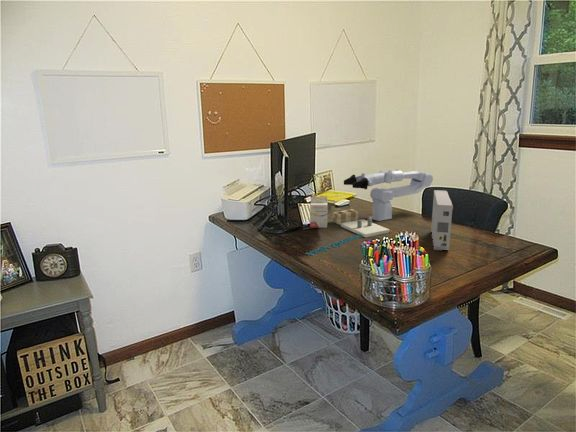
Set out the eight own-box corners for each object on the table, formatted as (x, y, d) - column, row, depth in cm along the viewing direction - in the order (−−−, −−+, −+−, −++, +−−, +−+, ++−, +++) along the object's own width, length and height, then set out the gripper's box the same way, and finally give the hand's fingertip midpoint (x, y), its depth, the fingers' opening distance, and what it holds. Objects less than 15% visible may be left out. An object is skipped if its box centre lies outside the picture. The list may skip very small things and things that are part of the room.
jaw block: (332, 221, 216) (333, 212, 214) (352, 218, 221) (352, 209, 219) (338, 224, 211) (338, 214, 210) (357, 220, 216) (358, 211, 215)
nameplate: (302, 254, 173) (311, 257, 170) (302, 252, 173) (311, 256, 169) (359, 234, 196) (368, 236, 193) (359, 232, 196) (368, 235, 193)
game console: (444, 232, 195) (447, 190, 189) (449, 253, 170) (453, 205, 164) (431, 231, 196) (434, 190, 191) (434, 252, 171) (437, 204, 166)
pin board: (363, 222, 214) (363, 212, 213) (389, 232, 197) (390, 222, 195) (340, 226, 208) (340, 216, 206) (365, 237, 191) (365, 227, 189)
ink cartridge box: (310, 227, 207) (309, 198, 203) (310, 224, 212) (310, 196, 208) (327, 227, 206) (327, 198, 202) (327, 224, 211) (327, 196, 207)
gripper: (362, 169, 216) (340, 173, 211) (380, 174, 204) (356, 178, 198) (362, 182, 218) (340, 187, 213) (380, 188, 206) (357, 193, 200)
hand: (348, 184), depth 206 cm, fingers open, 7 cm apart
